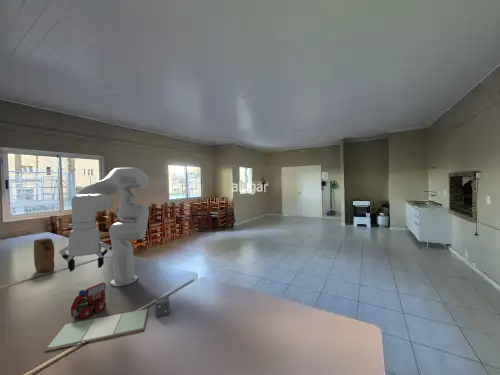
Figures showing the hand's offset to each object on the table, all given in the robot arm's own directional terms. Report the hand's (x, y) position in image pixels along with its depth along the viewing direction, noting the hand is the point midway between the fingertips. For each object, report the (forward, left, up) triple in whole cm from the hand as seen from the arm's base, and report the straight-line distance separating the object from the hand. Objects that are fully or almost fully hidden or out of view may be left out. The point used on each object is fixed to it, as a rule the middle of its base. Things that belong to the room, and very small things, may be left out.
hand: (86, 268), depth 93 cm
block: (-69, -45, -18) cm, 85 cm away
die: (+11, +26, -15) cm, 32 cm away
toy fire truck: (0, 0, -18) cm, 18 cm away
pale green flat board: (+14, +9, -18) cm, 24 cm away
